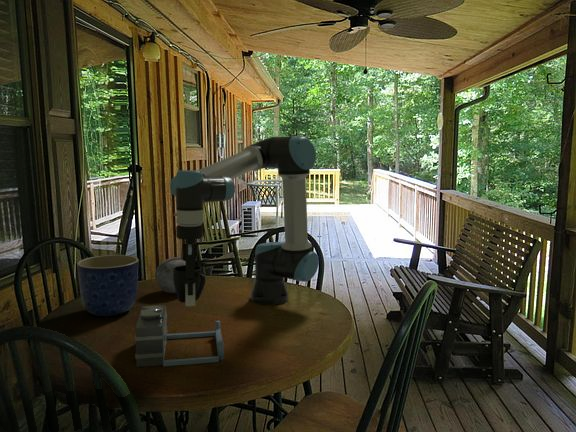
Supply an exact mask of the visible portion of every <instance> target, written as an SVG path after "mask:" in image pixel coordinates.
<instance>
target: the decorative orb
mask: <svg viewBox="0 0 576 432" xmlns="http://www.w3.org/2000/svg"><path fill="white" fill-rule="evenodd" d="M183 265H186V261H185V260H184V258H181V257H170V258H167V259H165V260H163V261H162V262H161V263H160V264H159V265H158V267H157V268H156V269H155V272H154V279H155V283H156V285H157V286H158V288H159V289H160V290H162V291H163V292H165V293H168V294H176V290H175V286H174V280H173V269H174V268H175V267H178V266H183Z"/></svg>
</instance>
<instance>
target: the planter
mask: <svg viewBox="0 0 576 432" xmlns="http://www.w3.org/2000/svg"><path fill="white" fill-rule="evenodd" d="M139 261H140V260H139V258H138V257H136V256H133V255H128V254H127V255H125V254H107V255H97V256H96V255H95V256H91V257H87V258H84V259H81V260H79V261H78V262H77V263H76V269H77V277H78V282H79V283H78V285H79V290H80V291H79V292H80V293H79V294H80V299H81V303H82V306H83V307H84V309H85V310H86V312H88V313H89V314H91V315H94V316H97V317H114V316H118V315H122V314H123V313H126V312H127V311H129V310H130V309H131V308H132V307H133V306H134V305H135V302H136V299H137V295H138V285H139V282H138V281H139V265H140V264H139Z"/></svg>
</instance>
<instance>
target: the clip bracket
mask: <svg viewBox="0 0 576 432" xmlns="http://www.w3.org/2000/svg"><path fill="white" fill-rule="evenodd" d="M214 323H215V324H214V326H215V327H214V328H215V330H212V331H197V332H196V331H195V332H183V333H182V332H181V333H167V340H174V339H175V340H177V339H188V338H202V337H203V338H207V337H215V343H216V351H217V356H216V355H215V356H204V357H203V356H202V357H192V358H179V359H176V358H175V359H167V360H165V359H164V360H163V365H162V366H163V367H171V366H183V365H184V366H185V365H194V364H195V365H196V364H197V365H198V364H207V363H208V364H209V363H210V364H211V363H219V362H220V361H223V360H225V341H224V340H223V336H222V331H221V321H220V320H215V322H214Z"/></svg>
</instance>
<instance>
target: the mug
mask: <svg viewBox="0 0 576 432" xmlns="http://www.w3.org/2000/svg"><path fill="white" fill-rule="evenodd" d="M188 279H193V278H188ZM173 280H174V286H175V290H176V293H175V294H176V296H177V300H178V301H179V303H185V284H183V281H185V280H186V265H183V266H178V267H175V268H174V269H173ZM205 285H206V276H205V274H203V268H202V266H200V265H197V264H195V302H196V301H198V300H199V299H200V297H201V295H202V293H203V289H204V287H205ZM185 304H186V303H185Z"/></svg>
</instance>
